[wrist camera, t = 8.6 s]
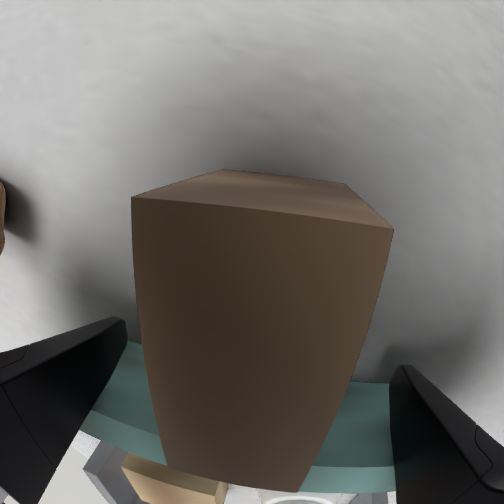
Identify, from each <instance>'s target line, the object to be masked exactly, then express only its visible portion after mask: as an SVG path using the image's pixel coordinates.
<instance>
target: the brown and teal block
mask: <svg viewBox="0 0 504 504" xmlns="http://www.w3.org/2000/svg"><path fill="white" fill-rule="evenodd" d="M131 217H132V246H133V263H134V277H135V289H136V300H137V309H138V318H139V326H140V334H141V341H142V344H138V343H135V342H132V341H128V343H127V346H126V348H125V350H124V352H123V354H122V356H121V358H120V360H119V362H118V364H117V366H116V368H115V370H114V372H113V374H112V376H111V378H110V380H109V382H108V383H107V385H106V386H105V388H104V390H103V391H102V393H101V394H100V396H99V398H98V399H97V401H96V403H95V404H94V406H93V407H92V409H91V411H90V412H89V414H88V416H87V417H86V419H85V421H84V422H83V424H82V426H81V427H80V429H79V430H81V431H83V432H85V433H87V434H89V435H91V436H93V437H95V438H97V439H99V440H101V441H104V442H106V443H108V444H111V445H113V446H115V447H118V448H120V449H122V450H125V451H127V452H130V453H132V454H135V455H138V456H140V457H143V458H146V459H149V460H152V461H154V462H157V463H160V464H163V465H167V467H168V468H171V469H174V470H177V471H181V472H184V473H188V474H192V475H195V476H199V477H203V478H207V479H211V480H216V481H220V482H225V483H230V484H235V485H240V486H246V487H252V488H258V489H265V490H272V491H281V492H290V493H298V492H312V493H377V492H391V491H396V485H395V472H394V461H393V451H392V442H391V434H390V410H389V385H390V384H388V383H368V382H353V381H350V379H351V377H352V374H353V371H354V369H355V366H356V363H357V360H358V358H359V355H360V352H361V349H362V346H363V343H364V340H365V337H366V334H367V331H368V328H369V325H370V321H371V318H372V315H373V311H374V308H375V305H376V301H377V298H378V294H379V290H380V287H381V283H382V279H383V275H384V271H385V267H386V263H387V259H388V255H389V250H390V246H391V241H392V237H393V232H394V228H393V227H392V226H390V225H389V224H388V223H387V222H386V221H385V220H384V219H383V218H382V217H381V216H380V215H379V214H378V213H377V212H376V211H375V210H373V209H372V208H371V207H370V206H369V205H368V204H367V203H366V202H365V201H364V200H362V199H361V198H360V197H359V196H358V195H357V194H356V193H355V192H353V191H352V190H351V189H350V188H349V187H348V186H346V185H345V184H342V183H335V182H329V181H322V180H315V179H307V178H300V177H292V176H283V175H275V174H266V173H256V172H246V171H235V170H219V171H215V172H212V173H208V174H204V175H201V176H197V177H194V178H190V179H187V180H184V181H180V182H177V183H173V184H170V185H167V186H164V187H160V188H157V189H154V190H151V191H148V192H145V193H142V194H139V195H136V196H133V197H131Z"/></svg>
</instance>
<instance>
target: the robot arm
mask: <svg viewBox="0 0 504 504" xmlns="http://www.w3.org/2000/svg"><path fill="white" fill-rule="evenodd" d="M127 343H128V337H127V330H126V324H125V321H124V320H123V319H121V318H118V317H110V318H107V319H104V320H101V321H98V322H95V323H92V324H89V325H86V326H83V327H80V328H77V329H74V330H71V331H68V332H65V333H62V334H59V335H56V336H53V337H50V338H47V339H44V340H41V341H38V342H35V343H32V344H30V345H25V346H22V347H19V348H16V349H13V350H9V351H5V352H1V353H0V504H5V503H4V502H3V501H4V500H5V498H6V497H7V496H8V495H9V496H11V497H12V498H13V499H14V500H15V501H17V502H18V503H19V504H38V502H39V500H40V499H41V497H42V495H43V493H44V491H45V489H46V487H47V486H48V484H49V482H50V480H51V478H52V476H53V474H54V473H55V471H56V468H57V467H58V465H59V463H60V462H61V460H62V458H63V456H64V455H65V453H66V451H67V449H68V448H69V446H70V444H71V443H72V441H73V439H74V437H75V436H76V434H77V432H78V431H79V429H80V427H81V426H82V424H83V422H84V421H85V419H86V417H87V416H88V414H89V412H90V411H91V409H92V407H93V406H94V404H95V403H96V401H97V399H98V398H99V396H100V394H101V393H102V391H103V390H104V388H105V386H106V385H107V383H108V382H109V380H110V378H111V376H112V374H113V372H114V370H115V368H116V366H117V364H118V362H119V360H120V358H121V356H122V354H123V352H124V350H125V348H126V346H127ZM389 410H390V434H391V442H392V451H393V461H394V472H395V485H396V502H397V504H504V447H503V446H502V445H501V444H499V443H498V442H497V441H496V440H494V439H493V438H492V437H491V436H490V435H489V434H488V433H486V432H485V431H484V430H483V429H482V428H481V427H480V426H479V425H476V423H475V422H474V421H473V420H472V419H471V418H470V417H469V416H468V415H467V414H465V413H464V412H463V411H462V410H461V409H460V408H459V407H458V406H457V405H456V404H454V403H453V402H452V401H451V400H450V399H449V398H448V397H447V396H446V395H444V394H443V393H442V392H441V391H440V390H439V389H438V388H437V387H435V386H434V385H433V384H432V383H431V382H430V381H429V380H428V379H426V378H425V377H424V376H423V375H422V374H421V373H420V372H419V371H417V370H416V369H415V368H414V367H413V366H412V365H406V364H400V365H399V366H398V367H397V369H396V371H395V373H394V375H393V378H392V380H391V382H390V385H389Z"/></svg>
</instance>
